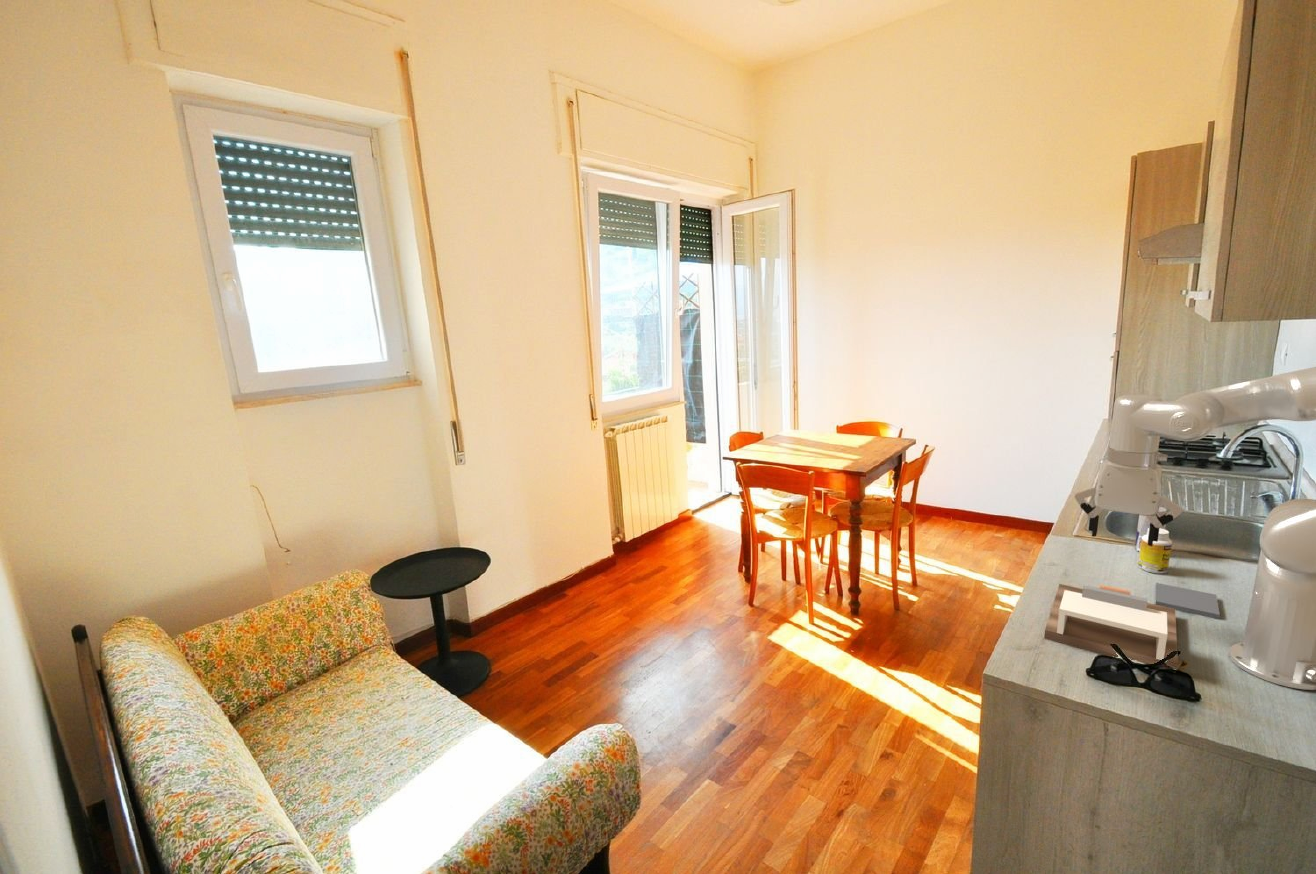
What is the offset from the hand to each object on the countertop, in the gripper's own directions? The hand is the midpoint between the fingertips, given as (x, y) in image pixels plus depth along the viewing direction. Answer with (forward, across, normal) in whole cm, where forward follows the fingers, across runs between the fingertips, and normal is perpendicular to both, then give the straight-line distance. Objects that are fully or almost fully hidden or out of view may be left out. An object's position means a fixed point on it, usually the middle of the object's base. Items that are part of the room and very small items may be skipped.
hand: (1121, 538), depth 118 cm
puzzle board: (+18, 0, +4) cm, 19 cm away
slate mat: (+18, -12, -16) cm, 27 cm away
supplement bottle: (+18, -6, -31) cm, 37 cm away
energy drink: (+18, -6, -42) cm, 47 cm away
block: (+18, 0, 0) cm, 18 cm away
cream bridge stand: (+16, 0, +12) cm, 20 cm away
